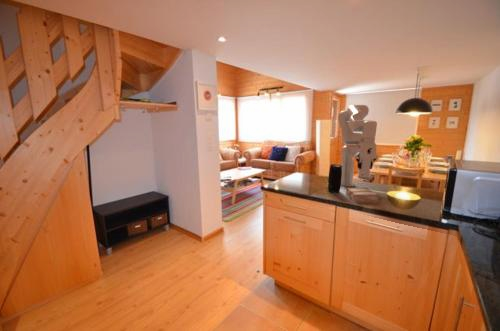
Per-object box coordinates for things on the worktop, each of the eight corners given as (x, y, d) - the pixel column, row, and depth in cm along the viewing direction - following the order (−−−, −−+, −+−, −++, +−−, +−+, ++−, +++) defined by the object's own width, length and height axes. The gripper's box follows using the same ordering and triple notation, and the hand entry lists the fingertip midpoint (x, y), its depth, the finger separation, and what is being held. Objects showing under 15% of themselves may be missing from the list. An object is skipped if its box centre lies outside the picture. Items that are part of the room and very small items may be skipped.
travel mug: (363, 179, 143) (367, 148, 139) (355, 177, 150) (359, 147, 145) (371, 179, 145) (375, 148, 141) (363, 176, 151) (367, 146, 147)
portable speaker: (332, 194, 158) (334, 166, 154) (324, 189, 167) (326, 164, 163) (343, 193, 161) (345, 166, 156) (334, 188, 170) (337, 163, 165)
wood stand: (345, 194, 157) (346, 187, 156) (365, 194, 157) (366, 188, 156) (355, 202, 144) (356, 194, 142) (377, 202, 144) (378, 195, 143)
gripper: (357, 141, 138) (354, 169, 142) (385, 141, 139) (381, 170, 142) (351, 140, 146) (348, 167, 149) (378, 140, 146) (374, 167, 150)
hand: (364, 168), depth 146 cm, fingers closed on travel mug, 6 cm apart
